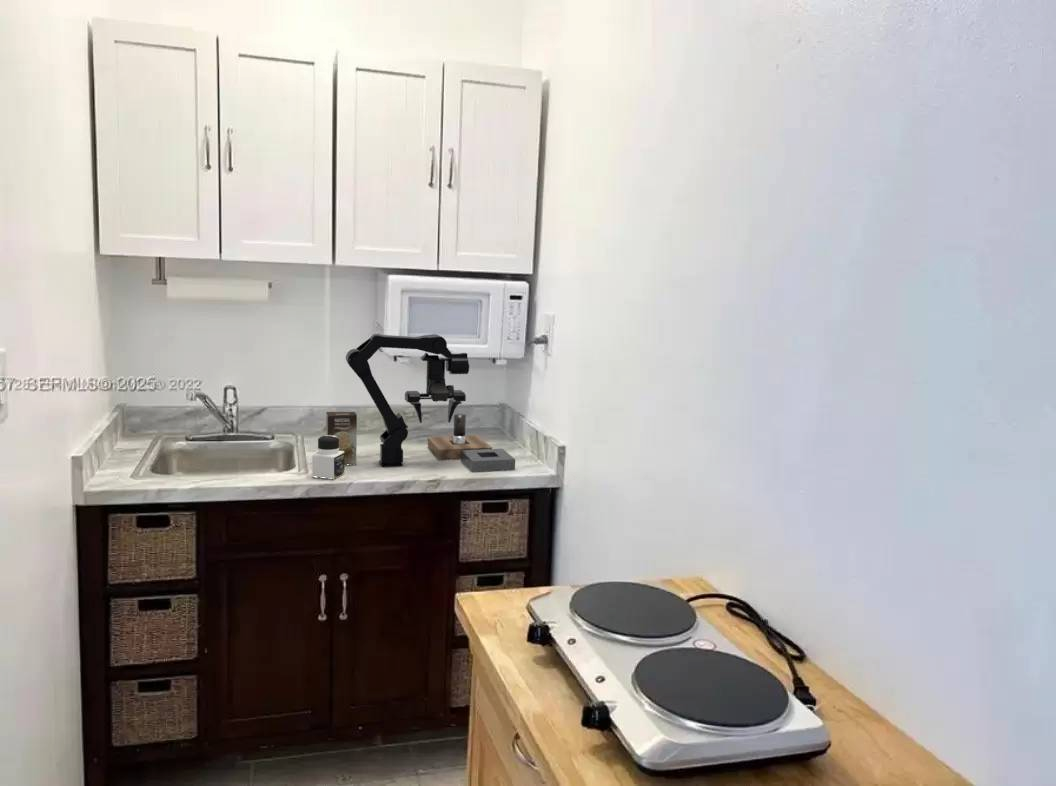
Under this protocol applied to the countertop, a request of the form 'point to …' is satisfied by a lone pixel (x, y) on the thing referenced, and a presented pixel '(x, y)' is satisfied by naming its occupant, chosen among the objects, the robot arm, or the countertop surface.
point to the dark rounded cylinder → (459, 429)
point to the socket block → (487, 460)
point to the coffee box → (343, 432)
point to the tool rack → (454, 446)
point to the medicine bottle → (328, 458)
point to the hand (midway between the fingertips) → (434, 422)
